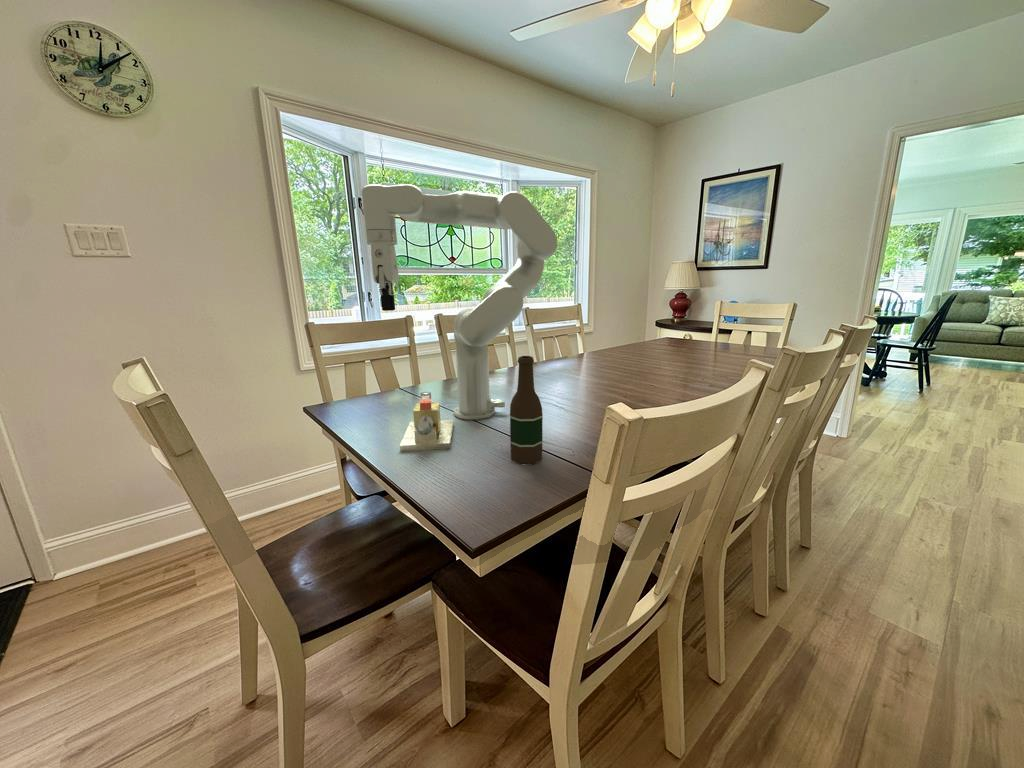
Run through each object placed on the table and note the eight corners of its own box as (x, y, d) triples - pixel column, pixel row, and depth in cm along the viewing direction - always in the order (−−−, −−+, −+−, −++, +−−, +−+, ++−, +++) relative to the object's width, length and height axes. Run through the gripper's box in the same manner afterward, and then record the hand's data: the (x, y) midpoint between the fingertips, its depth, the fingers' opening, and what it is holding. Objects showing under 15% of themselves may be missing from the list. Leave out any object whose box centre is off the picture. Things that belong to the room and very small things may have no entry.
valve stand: (453, 424, 113) (451, 389, 110) (450, 448, 97) (447, 408, 94) (410, 426, 112) (407, 391, 109) (400, 451, 96) (396, 410, 93)
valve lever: (421, 398, 103) (420, 391, 102) (431, 397, 103) (430, 390, 103) (420, 410, 93) (419, 403, 93) (431, 409, 94) (430, 402, 93)
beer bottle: (517, 468, 87) (516, 362, 81) (504, 454, 94) (502, 355, 87) (548, 461, 90) (550, 358, 84) (533, 448, 97) (533, 352, 90)
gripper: (390, 236, 95) (397, 312, 100) (401, 240, 110) (407, 307, 115) (358, 236, 95) (367, 313, 100) (374, 240, 109) (380, 308, 114)
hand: (388, 310), depth 107 cm, fingers closed
